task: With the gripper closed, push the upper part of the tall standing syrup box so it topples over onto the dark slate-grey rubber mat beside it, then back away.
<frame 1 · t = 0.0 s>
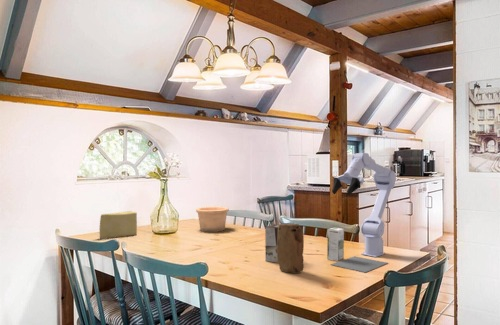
hand: (340, 193, 172), 32 cm above the table, tool tilted 50°, fingers open, 7 cm apart
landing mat: (359, 264, 174), on the table
pottery: (212, 230, 262), on the table
block: (291, 271, 165), on the table
cheese: (117, 236, 243), on the table
syrup box: (335, 259, 183), on the table
coffee box: (275, 260, 183), on the table
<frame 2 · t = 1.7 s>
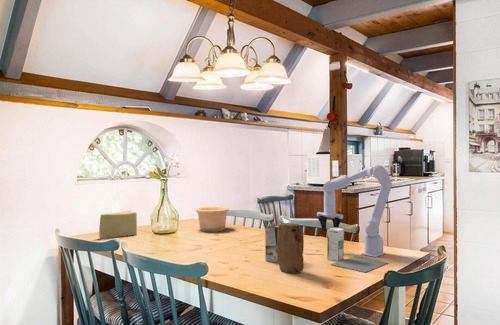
hand: (329, 231, 197), 10 cm above the table, tool pointing down, fingers open, 6 cm apart
nothing on the table moved.
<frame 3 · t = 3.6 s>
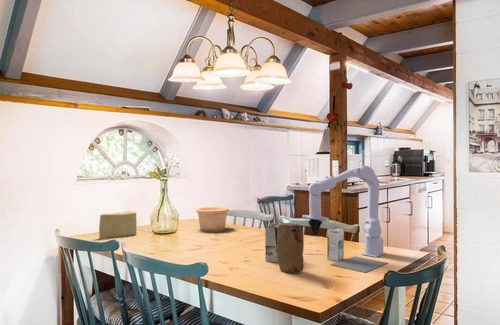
hand: (315, 235, 191), 10 cm above the table, tool pointing down, fingers closed
nothing on the table moved.
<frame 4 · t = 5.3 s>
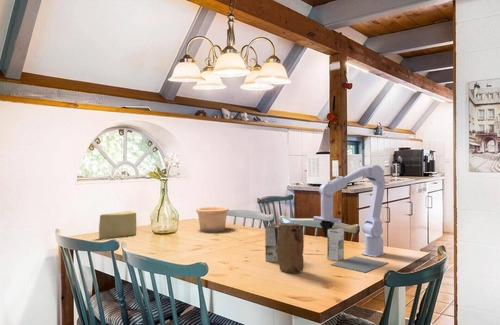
hand: (327, 236, 186), 10 cm above the table, tool pointing down, fingers closed
syrup box: (335, 259, 183), on the table, touching gripper
everything else where it was.
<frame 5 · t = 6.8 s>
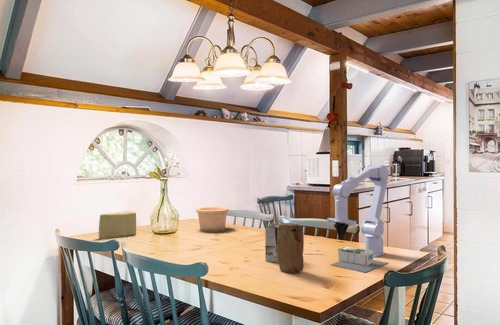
hand: (341, 239, 180), 10 cm above the table, tool pointing down, fingers closed
syrup box: (340, 253, 181), point 3 cm above the table, touching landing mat
everything else where it was.
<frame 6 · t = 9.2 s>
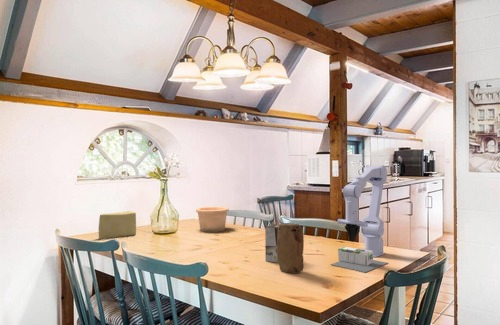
hand: (352, 241, 176), 10 cm above the table, tool pointing down, fingers closed
nothing on the table moved.
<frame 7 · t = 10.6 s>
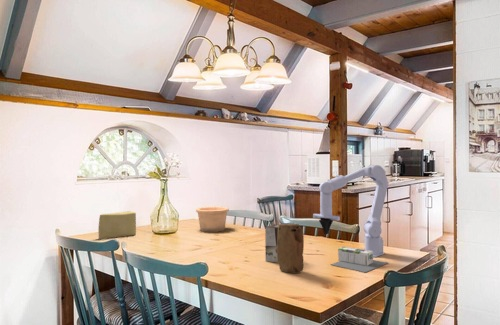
hand: (326, 233, 191), 10 cm above the table, tool pointing down, fingers closed
nothing on the table moved.
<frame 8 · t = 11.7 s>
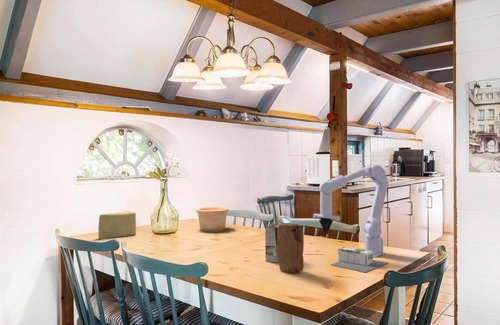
hand: (326, 233, 191), 10 cm above the table, tool pointing down, fingers closed
nothing on the table moved.
at the end: syrup box tilted 89°; syrup box touching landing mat; syrup box inside the target area (3.6 cm from its centre), point 3.0 cm above the table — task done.
